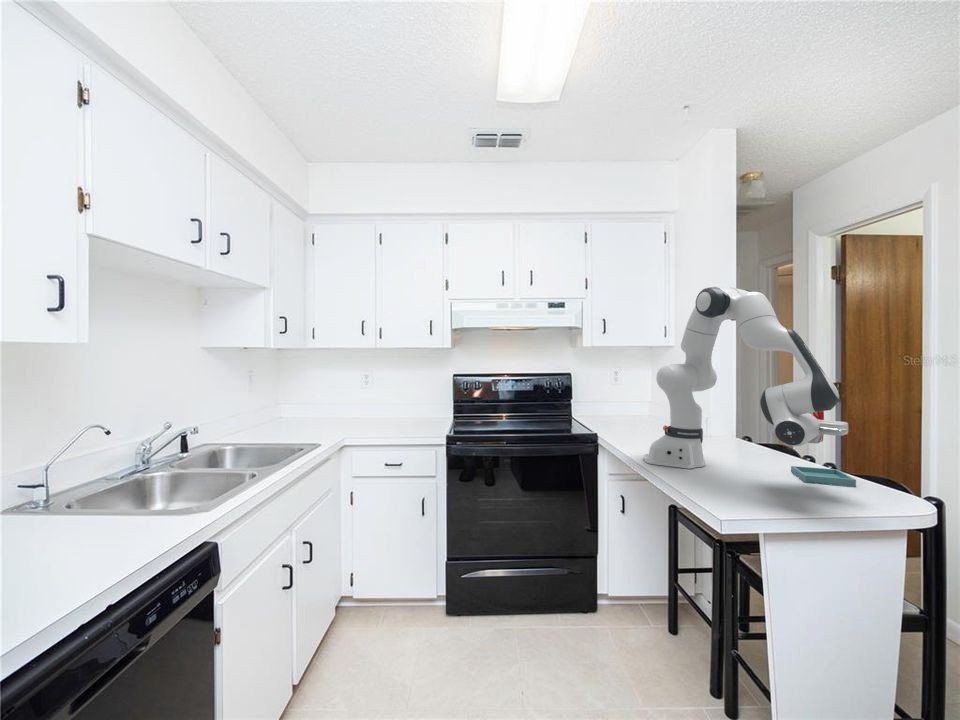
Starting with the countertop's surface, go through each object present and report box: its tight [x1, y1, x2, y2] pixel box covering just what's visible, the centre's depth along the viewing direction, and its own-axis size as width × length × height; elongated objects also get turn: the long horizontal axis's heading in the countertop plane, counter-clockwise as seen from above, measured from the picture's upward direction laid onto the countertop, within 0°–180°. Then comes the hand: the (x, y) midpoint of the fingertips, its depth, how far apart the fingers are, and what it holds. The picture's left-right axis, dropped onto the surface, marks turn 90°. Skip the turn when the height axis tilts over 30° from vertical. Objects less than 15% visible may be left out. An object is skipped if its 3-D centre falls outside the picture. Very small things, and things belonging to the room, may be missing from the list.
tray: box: [790, 465, 857, 488], centre depth 150 cm, size 14×13×2 cm
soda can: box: [807, 411, 825, 444], centre depth 142 cm, size 7×7×12 cm
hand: (810, 422), depth 142 cm, fingers closed on soda can, 7 cm apart
